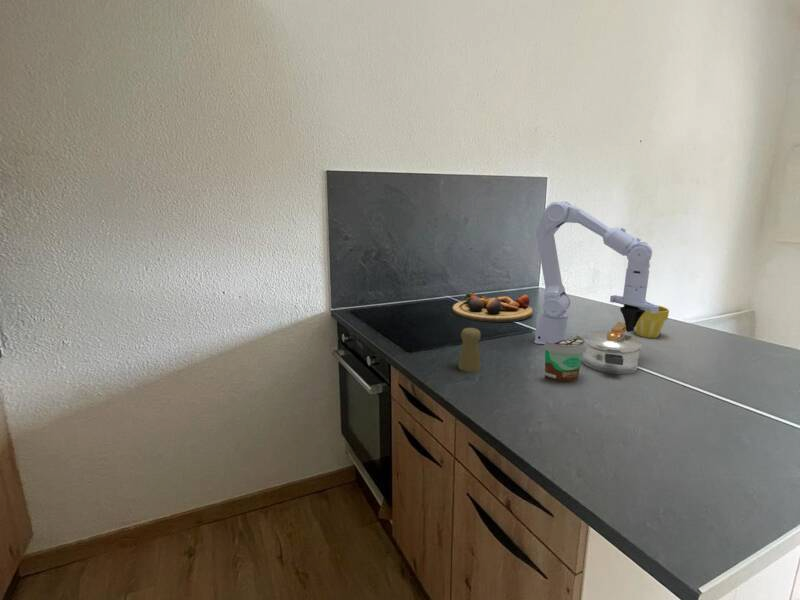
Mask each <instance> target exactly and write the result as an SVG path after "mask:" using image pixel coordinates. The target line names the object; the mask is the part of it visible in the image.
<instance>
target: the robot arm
mask: <svg viewBox="0 0 800 600" xmlns="http://www.w3.org/2000/svg"><path fill="white" fill-rule="evenodd" d="M565 223H569V224H572V223H573V224H580V225H581V226H582V227H585V228H586V229H588V230H589V231H591V232H592V233H594V234H596V235H599V236H600V237H602V239H603V240H602V241H603V244H604V245H605V246H607V247H609V248H610V249H611V250H613V251H615V252H616V253H618V254H619V255H621V256H625V257H626V259H627V260H628V262H627V268H626V269H625V270H626V271H625V276H624V277H625V278H624V287H623V293H622V294H623V295H622V296H620V295H610V297H609V298H610V300H609V302H610V303H614V304H619V305H622V306H621V307H620V308H619V310H620V312H621V314H622V317H623V319H624V323H625V325H626V331H625V332H627V333H630V332H634V330H635V329H636V327H635V326H636V324H637V322H638V320H639V318H640V317H641V316H642V314H643V313H644V312H645V311H649V312H650V313H658V311H659V306H660V305H658V304H654V303H650V302H648V301H647V300H646V297H647V292H648V291H647V290H648V286H649V285H648V283H649V276H650V275H649V274H650V269H649V268H650V266H651V264H650V260H651V259H652V256H653V249H652V247H651V246H650V245H649V244H648V243H647V242H645V241H642V239H641V238H640V237H638V238H636V237H635V236H633V235H632V234H629V233H628V232H626V231H627V229H626V228H624V227H618V226H615V227H609V226H608V225H607V224H605V223H603V222H601V220H599V219H597V218H596V217H595V216H593V215H591V214H590V213H589V212H587V211H585V210H584V209H581V208H579V207H578V206H576V205H573V204H571V203H569V202H567V201H553V202H551V203H549V205H547V206H546V207H545V209H544V210H542V212H541V218H540V220H539V223H538V226H537V228H536V230H535V235H536V241H537V245H538V251H539V252H538V253H539V258H540V265H541V268H542V275H543V276H542V277H543V281H544V286H545V287H544V293H543V297H544V301H543V305H542V310H543V313H537V314H536V315H537V316H536V324H535V330H534V344H540V345H544V344H545V342H549V343H556V342H559V341H561V340H567V337H566V336H567V328H568V327H567V326H568V318H569V314H568V312H567V310H568V309H569V307H570V305H571V300H570V297H569V295H568V294H567V292H566V289H565V286H564V284H563V281H562V276H561V268H560V263H559V258H558V257H559V256H558V253H557V252H558V250H557V245H556V239H555V233H557V231H558V230H559V229H560V228H561V226H563V225H564V224H565ZM657 305H658V306H657Z"/></svg>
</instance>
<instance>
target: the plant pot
mask: <svg viewBox="0 0 800 600" xmlns="http://www.w3.org/2000/svg"><path fill="white" fill-rule="evenodd" d="M656 305H657V306H659V311H658V313H650V312H649V311H645V312H644V313H643V314H642V316H641V317H640V318H639V320H638V322H637V324H636V326H635V334H636V335H637V336H640V337H643V338H649V339H656V338H658V337H659V335H660V333H661V330H662V328H663V326H664V323H665V321H667V320H668V318H669V313H670V309H669V308H667V307H664V306H663V305H662V306H661V305H658V304H656Z"/></svg>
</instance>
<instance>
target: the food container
mask: <svg viewBox="0 0 800 600" xmlns="http://www.w3.org/2000/svg"><path fill="white" fill-rule="evenodd" d="M542 349H543V350H544V379H547V380H550V381H553V382H559V383H571V382H575V380H576V381H577V380H578V379H577V378H579V373H580V368H581V365H582V364H581V363H582V355H583V352H585V351H586V343H585V340H584V339H583V336H579V335H576V338H573V339H566V340H561V341H559V342H556V343H549V342H545V344H543V348H542Z"/></svg>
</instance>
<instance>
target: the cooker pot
mask: <svg viewBox="0 0 800 600" xmlns="http://www.w3.org/2000/svg"><path fill="white" fill-rule="evenodd" d="M640 351H641V350H639V351H637V352H630V353H620V352H611V351H605V350H600V349H597V348H594V347H591V346H589V345H587V344H586V351H585V352H583V355H582V360H581V363H582V362H583V363H582V364H584V366H586V367H588V368H590V369H592V370H595V371H599V372H602V373H606V374H607V373H608V374H613V375H628V374H633V373H635V372H636V371H637V369H638V363H639V358H640V357H639V356H640Z"/></svg>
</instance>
